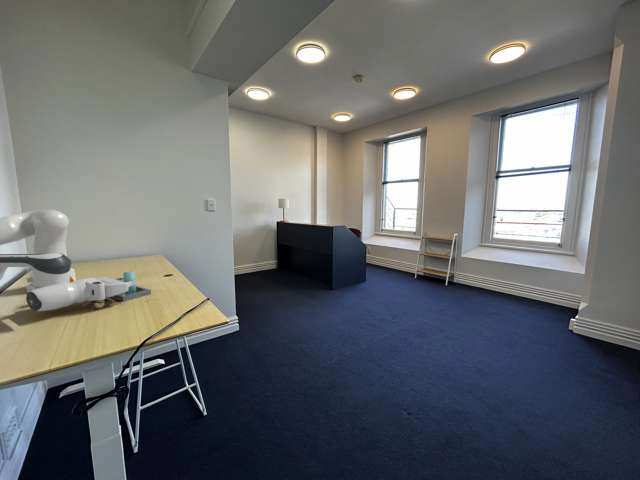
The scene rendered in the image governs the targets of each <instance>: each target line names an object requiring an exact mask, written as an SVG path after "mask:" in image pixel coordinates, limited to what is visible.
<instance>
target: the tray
mask: <svg viewBox="0 0 640 480" xmlns="http://www.w3.org/2000/svg"><path fill="white" fill-rule="evenodd" d="M151 294H152V290H151V289H150V288H145V287H143V286H139V285H136V293H133V294H129V295H125V293H122V294H118V295H115V296H111V297H110V299H113V300H116V301H117V300H118V301H119V302H122V303H124V302H127V301H131V300H135V299H138V298H142V297H145V296H149V295H151Z"/></svg>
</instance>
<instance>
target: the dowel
mask: <svg viewBox="0 0 640 480" xmlns="http://www.w3.org/2000/svg"><path fill="white" fill-rule="evenodd" d="M123 278H124V282H129V281H132V280H134V281H136V271H133V270H132V271H124V272H123ZM136 286H137V285H136V284H135V285H131V286H130V287H128V291H127V292H125V294H124V296H125V295H129V294H133V293H137V291H136Z"/></svg>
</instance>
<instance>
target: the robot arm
mask: <svg viewBox="0 0 640 480" xmlns="http://www.w3.org/2000/svg"><path fill="white" fill-rule="evenodd" d="M69 224H70V220H69V218H68V217H67V215H66V214H64V213H63V212H61V211H59V210H57V209H36V210H35V209H34V210H29V211H26V212H20V213H16V214H12V215H9V216H4V217H0V246H2V245H3V246H4V245H6V244H10V243H14V242H18V241H21V240H23V239H26V238H29V237H33V236H34V240H33V241H34V242H33V246H32V247H33V253H3V254H2V253H0V281H2V279H3V278H4V275H5V273H6V271H7V269H8V268H29V269H30V270H31V271H32V274H31V276H29V277H27V278H26V282H27V283H30V284H28V285H26V286H25V289H26V295H25V296H26V297H25V298H26V299H25V301H26V303H27V305H28V308H29V309H31V310H32V311H33V312H44V311H45V312H46V311H52V310H58V309H61V308H67V307H69V306H71V305H74V304H81V303H85V302H89V301H93V300H98V301H100V300H104V299H106V297H107V298H111V296H115V295H118V294H122V293H125V292H127V291H128V287H130V286H131V285H135V284H136V283H137V281H136V280H135V281H134V280H132V281H129V282H124V277H122V276H121V277H114V278H113V277H112V278H111V277H107V276H101V277H87V278H82V279H76V273H75V269H74V268H72V259H71V258H69V257H68V251H67V237H68V226H69ZM70 275H71V277H72V278H73V280H74V282H71V283H70Z"/></svg>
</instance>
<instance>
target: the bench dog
mask: <svg viewBox="0 0 640 480" xmlns="http://www.w3.org/2000/svg"><path fill="white" fill-rule="evenodd" d="M94 305H95V309H96V311H99V310H98V309H100V310H102V309H106V308H105V302H104V301H97V302H94Z"/></svg>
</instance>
